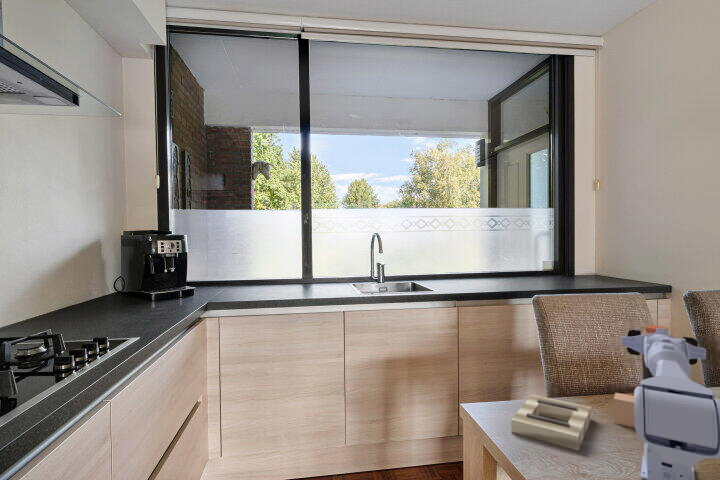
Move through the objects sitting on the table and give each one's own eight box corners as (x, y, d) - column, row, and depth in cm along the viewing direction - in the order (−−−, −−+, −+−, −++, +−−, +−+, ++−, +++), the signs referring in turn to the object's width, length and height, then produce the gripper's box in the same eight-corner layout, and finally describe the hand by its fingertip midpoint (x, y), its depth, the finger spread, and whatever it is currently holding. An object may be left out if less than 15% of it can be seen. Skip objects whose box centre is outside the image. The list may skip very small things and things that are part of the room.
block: (636, 428, 94) (636, 402, 94) (614, 423, 96) (613, 398, 96) (637, 421, 97) (637, 396, 97) (616, 416, 100) (615, 392, 100)
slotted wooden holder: (578, 450, 85) (578, 434, 85) (511, 432, 93) (511, 417, 93) (591, 418, 99) (591, 404, 99) (532, 405, 107) (531, 392, 107)
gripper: (709, 335, 78) (700, 332, 89) (621, 323, 86) (623, 322, 97) (708, 372, 77) (699, 364, 88) (619, 356, 86) (621, 351, 97)
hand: (659, 344), depth 93 cm, fingers open, 7 cm apart
